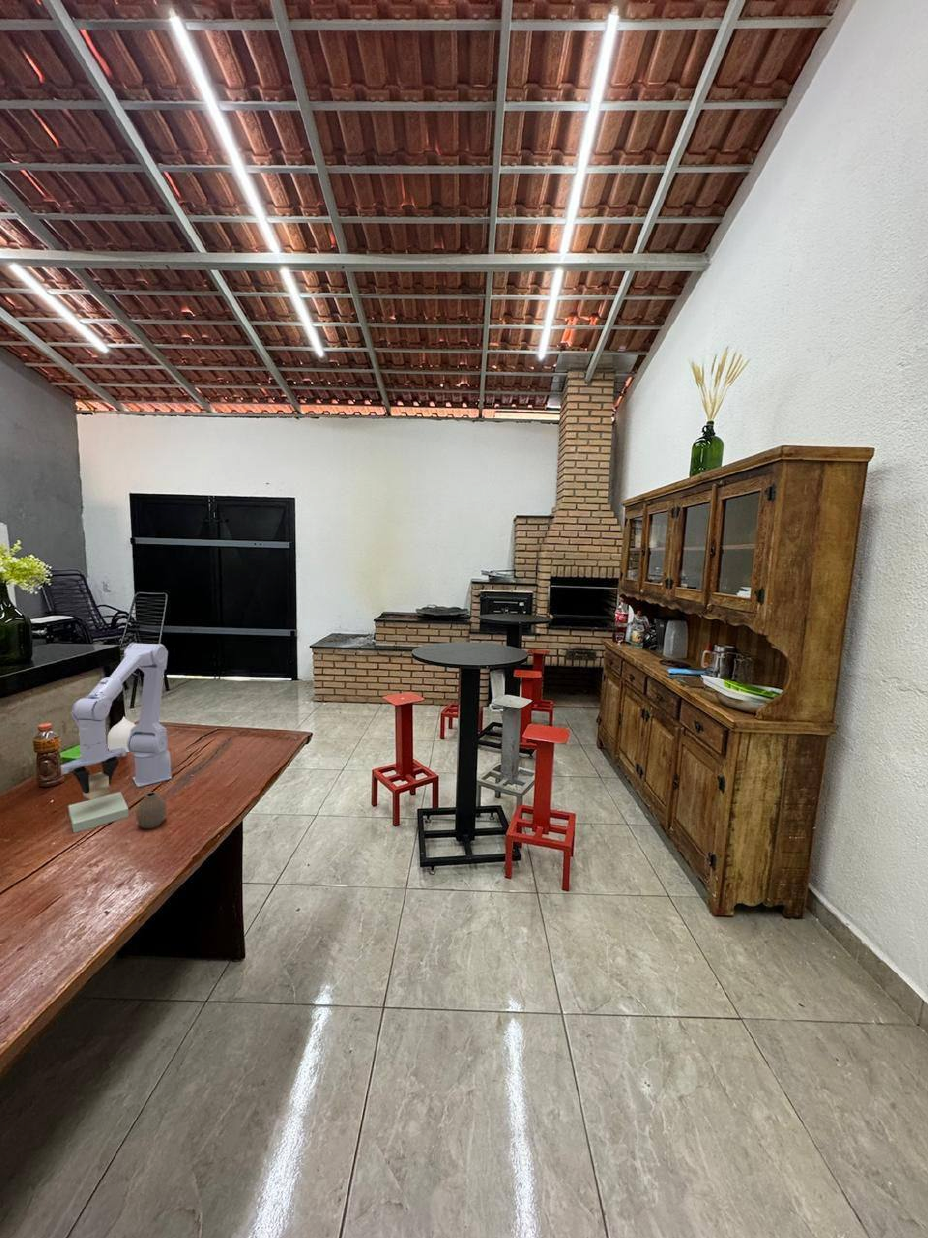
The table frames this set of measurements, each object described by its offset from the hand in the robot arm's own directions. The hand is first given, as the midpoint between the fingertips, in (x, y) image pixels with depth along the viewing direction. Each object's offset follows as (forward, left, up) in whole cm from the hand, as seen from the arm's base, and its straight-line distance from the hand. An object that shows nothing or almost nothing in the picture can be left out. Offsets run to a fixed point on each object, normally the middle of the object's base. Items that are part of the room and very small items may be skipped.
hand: (96, 788), depth 134 cm
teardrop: (-14, -49, -8) cm, 52 cm away
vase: (-10, +14, -8) cm, 19 cm away
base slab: (0, 0, -8) cm, 8 cm away
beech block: (0, 0, -2) cm, 2 cm away
